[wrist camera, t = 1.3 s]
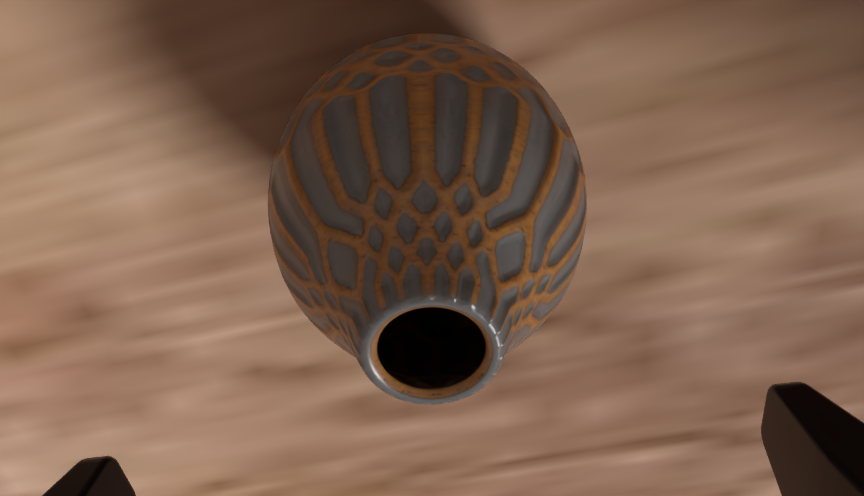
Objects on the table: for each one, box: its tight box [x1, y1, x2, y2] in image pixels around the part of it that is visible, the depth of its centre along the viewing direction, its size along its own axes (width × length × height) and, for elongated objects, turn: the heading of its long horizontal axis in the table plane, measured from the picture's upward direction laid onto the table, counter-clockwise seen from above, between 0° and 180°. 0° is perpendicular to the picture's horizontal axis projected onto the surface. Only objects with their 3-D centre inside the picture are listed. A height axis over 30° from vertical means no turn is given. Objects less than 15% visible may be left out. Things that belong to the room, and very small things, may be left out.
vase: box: [268, 33, 587, 405], centre depth 15 cm, size 7×7×9 cm
